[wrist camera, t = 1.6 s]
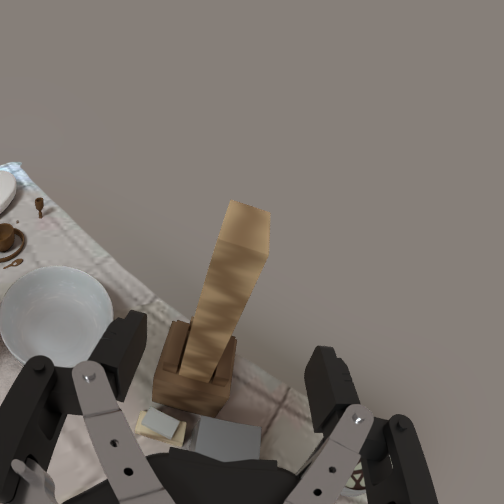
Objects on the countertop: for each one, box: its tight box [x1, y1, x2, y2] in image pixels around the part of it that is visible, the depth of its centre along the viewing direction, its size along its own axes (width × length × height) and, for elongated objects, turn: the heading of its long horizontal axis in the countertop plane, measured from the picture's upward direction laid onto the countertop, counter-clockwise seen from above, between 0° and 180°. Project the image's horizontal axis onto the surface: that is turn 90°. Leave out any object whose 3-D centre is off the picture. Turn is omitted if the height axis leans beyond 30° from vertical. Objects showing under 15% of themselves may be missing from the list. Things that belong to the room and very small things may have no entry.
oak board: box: [179, 200, 270, 383], centre depth 30 cm, size 4×7×22 cm, turn 176°
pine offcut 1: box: [135, 411, 187, 447], centre depth 33 cm, size 7×4×2 cm, turn 86°
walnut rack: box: [152, 317, 237, 418], centre depth 38 cm, size 10×10×12 cm
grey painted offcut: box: [141, 406, 180, 440], centre depth 31 cm, size 4×3×2 cm, turn 74°
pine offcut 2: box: [140, 411, 186, 445], centre depth 32 cm, size 6×3×2 cm, turn 88°
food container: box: [340, 455, 390, 496], centre depth 29 cm, size 12×6×10 cm, turn 120°
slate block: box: [189, 415, 262, 462], centre depth 29 cm, size 8×10×8 cm
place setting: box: [0, 198, 44, 269], centre depth 47 cm, size 18×20×6 cm
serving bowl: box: [0, 266, 114, 368], centre depth 36 cm, size 21×21×7 cm
